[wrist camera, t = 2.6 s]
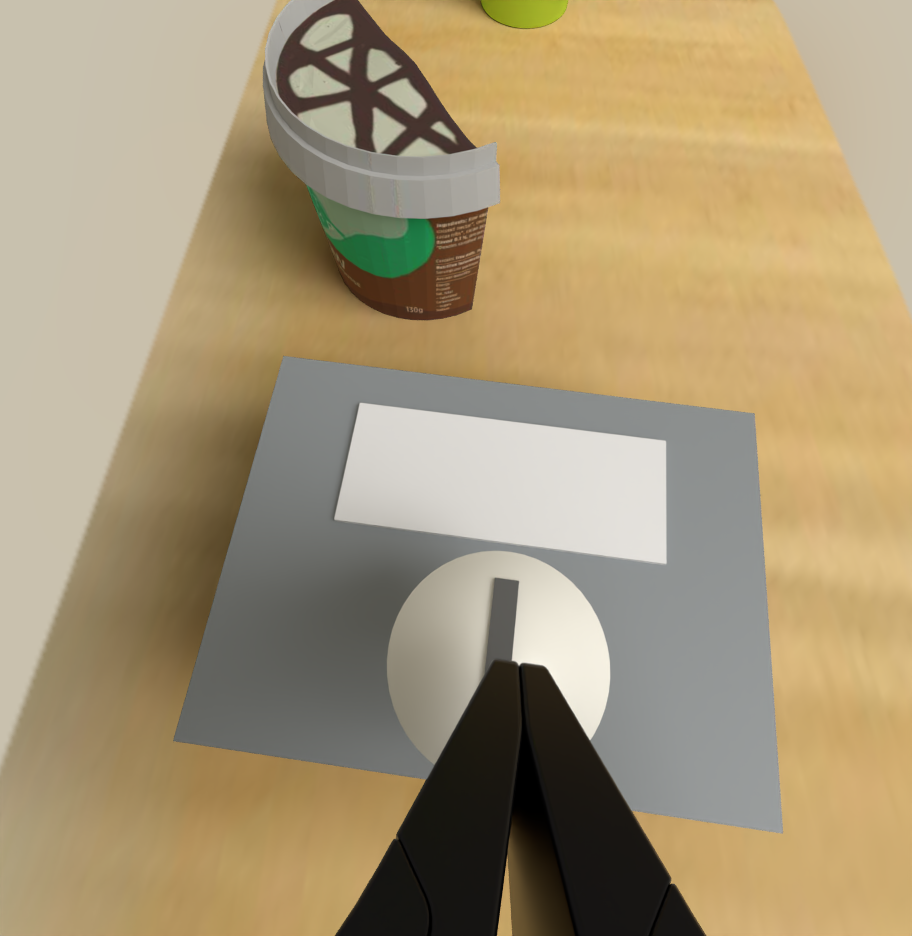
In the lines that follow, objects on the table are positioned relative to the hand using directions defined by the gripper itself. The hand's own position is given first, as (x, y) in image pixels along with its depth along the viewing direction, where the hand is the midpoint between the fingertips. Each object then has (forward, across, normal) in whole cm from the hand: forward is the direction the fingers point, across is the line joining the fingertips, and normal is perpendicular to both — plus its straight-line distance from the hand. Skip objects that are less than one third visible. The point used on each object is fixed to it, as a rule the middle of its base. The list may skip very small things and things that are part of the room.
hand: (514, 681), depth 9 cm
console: (+12, 0, +8) cm, 14 cm away
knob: (+6, 0, +6) cm, 8 cm away
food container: (+24, +8, -3) cm, 25 cm away
